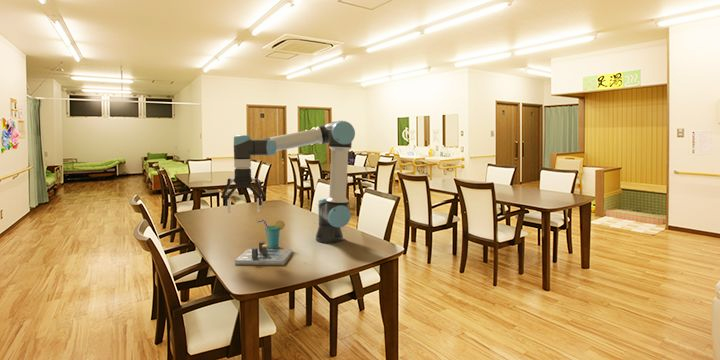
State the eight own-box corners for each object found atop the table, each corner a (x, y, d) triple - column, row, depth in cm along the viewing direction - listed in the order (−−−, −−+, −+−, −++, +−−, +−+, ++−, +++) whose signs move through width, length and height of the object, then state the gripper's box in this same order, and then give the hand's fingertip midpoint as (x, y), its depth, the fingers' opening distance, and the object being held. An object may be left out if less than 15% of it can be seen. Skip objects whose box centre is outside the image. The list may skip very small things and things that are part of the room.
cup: (258, 250, 199) (257, 221, 197) (256, 247, 206) (255, 218, 205) (286, 248, 204) (285, 219, 203) (283, 244, 211) (282, 216, 210)
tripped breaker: (267, 252, 187) (267, 244, 187) (266, 254, 185) (266, 246, 184) (263, 252, 187) (263, 244, 187) (262, 254, 185) (261, 246, 184)
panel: (292, 253, 195) (292, 240, 194) (283, 265, 177) (283, 251, 176) (248, 252, 196) (247, 240, 195) (235, 264, 178) (234, 250, 177)
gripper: (270, 167, 193) (271, 210, 195) (216, 167, 190) (218, 211, 192) (269, 168, 186) (269, 213, 188) (213, 168, 182) (214, 214, 184)
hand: (243, 212), depth 190 cm, fingers open, 13 cm apart
